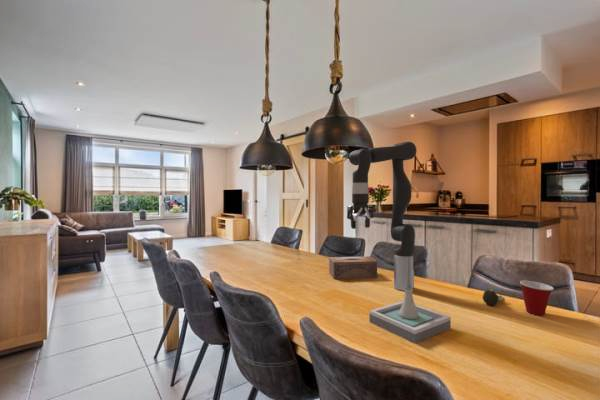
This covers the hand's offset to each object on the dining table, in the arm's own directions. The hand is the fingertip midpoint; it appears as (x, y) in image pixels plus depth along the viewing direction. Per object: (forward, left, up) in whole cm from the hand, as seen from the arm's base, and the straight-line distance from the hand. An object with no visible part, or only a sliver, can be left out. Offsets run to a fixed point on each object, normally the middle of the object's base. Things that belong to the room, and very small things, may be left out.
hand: (360, 228), depth 138 cm
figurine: (-46, +35, -33) cm, 67 cm away
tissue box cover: (-26, -34, -34) cm, 54 cm away
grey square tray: (+5, +30, -33) cm, 45 cm away
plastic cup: (-47, +51, -33) cm, 77 cm away
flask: (+5, +30, -30) cm, 43 cm away
